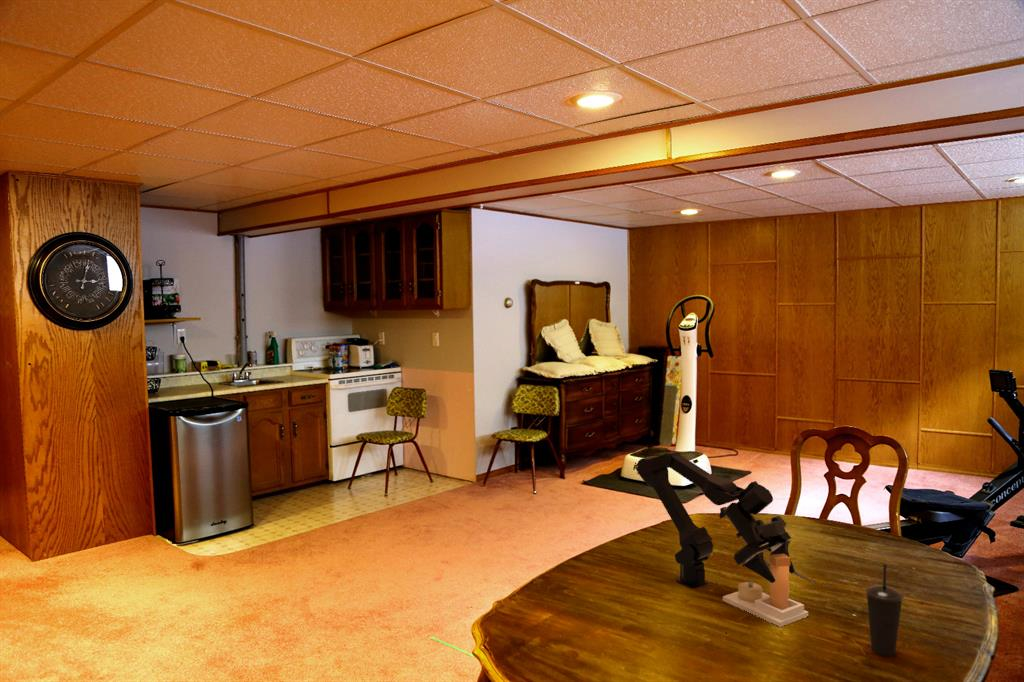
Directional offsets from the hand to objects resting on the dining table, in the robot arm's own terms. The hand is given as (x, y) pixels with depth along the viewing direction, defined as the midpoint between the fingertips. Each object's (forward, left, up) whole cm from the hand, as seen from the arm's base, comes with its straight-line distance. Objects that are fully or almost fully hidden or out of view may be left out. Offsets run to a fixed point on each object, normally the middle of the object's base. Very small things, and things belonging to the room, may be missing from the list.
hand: (783, 577), depth 176 cm
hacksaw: (-16, +26, -11) cm, 33 cm away
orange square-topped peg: (-1, 0, -9) cm, 9 cm away
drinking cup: (+23, +4, -10) cm, 26 cm away
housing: (-6, 0, -10) cm, 12 cm away
